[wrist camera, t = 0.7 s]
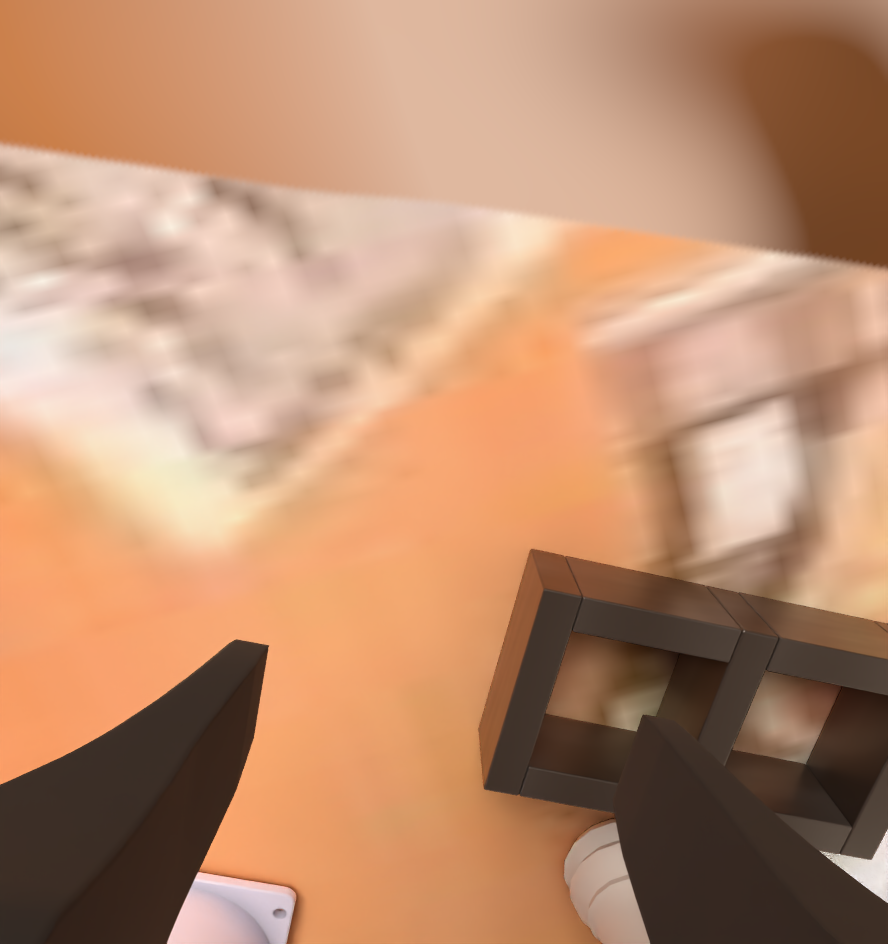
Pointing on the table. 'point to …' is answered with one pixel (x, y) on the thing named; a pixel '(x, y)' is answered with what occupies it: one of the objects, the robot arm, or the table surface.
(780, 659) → the rack
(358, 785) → the table surface
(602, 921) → the rook chess piece
